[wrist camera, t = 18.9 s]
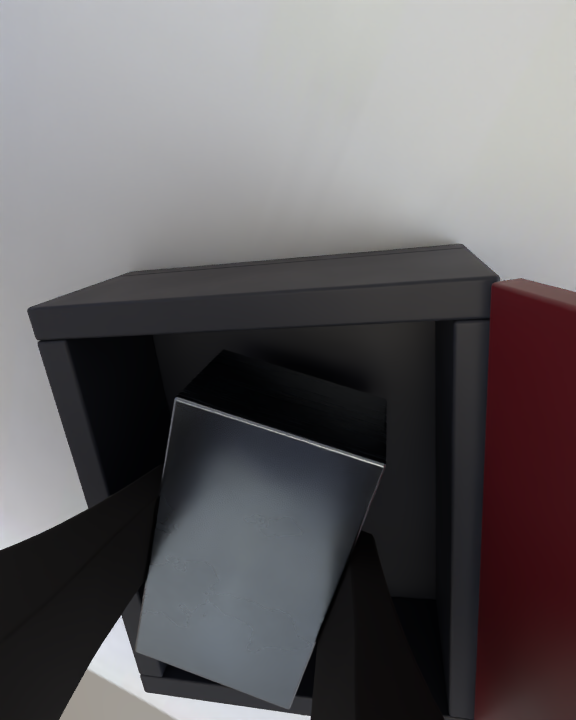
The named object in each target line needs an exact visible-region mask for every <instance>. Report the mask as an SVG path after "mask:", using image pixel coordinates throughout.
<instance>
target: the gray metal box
mask: <svg viewBox="0 0 576 720" xmlns="http://www.w3.org/2000/svg"><path fill="white" fill-rule="evenodd" d="M386 443H387V400H386V399H385V398H381V397H378V396H375V395H372V394H368V393H365V392H362V391H359V390H355V389H352V388H349V387H346V386H342V385H339V384H336V383H333V382H329V381H326V380H323V379H320V378H316V377H313V376H310V375H307V374H303V373H300V372H297V371H294V370H290V369H287V368H284V367H281V366H277V365H274V364H271V363H268V362H264V361H261V360H258V359H255V358H251V357H248V356H245V355H242V354H238V353H235V352H232V351H229V350H225V349H222V350H221V351H220V352H219V353H218V354H217V355H216V356H215V357H214V358H213V359H212V360H211V361H210V362H209V363H208V364H207V366H206V367H205V368H204V369H203V370H202V371H201V372H200V373H199V374H198V375H197V376H196V377H195V378H194V379H193V380H192V381H191V382H190V383H189V384H188V385H187V386H186V387H185V388H184V389H183V390H182V391H181V392H180V393H179V394H178V395H177V396H176V397H175V399H174V405H173V411H172V417H171V424H170V430H169V436H168V443H167V449H166V455H165V462H164V468H163V474H162V481H161V487H160V493H159V500H158V506H157V512H156V519H155V525H154V531H153V537H152V544H151V550H150V556H149V563H148V569H147V575H146V582H145V588H144V594H143V601H142V607H141V613H140V620H139V626H138V632H137V639H136V645H135V651H136V652H138V653H140V654H143V655H145V656H148V657H151V658H153V659H156V660H159V661H161V662H164V663H166V664H169V665H172V666H174V667H177V668H180V669H182V670H185V671H188V672H190V673H193V674H195V675H198V676H201V677H203V678H206V679H209V680H211V681H214V682H217V683H219V684H222V685H224V686H227V687H230V688H232V689H235V690H238V691H240V692H243V693H246V694H248V695H251V696H253V697H256V698H259V699H261V700H264V701H267V702H269V703H272V704H275V705H277V706H280V707H282V708H285V709H290V707H291V705H292V702H293V700H294V697H295V695H296V692H297V690H298V687H299V685H300V682H301V680H302V677H303V675H304V672H305V670H306V667H307V665H308V662H309V660H310V657H311V655H312V652H313V650H314V647H315V645H316V642H317V640H318V637H319V635H320V632H321V630H322V627H323V625H324V622H325V620H326V617H327V615H328V612H329V610H330V607H331V605H332V602H333V600H334V597H335V595H336V592H337V590H338V587H339V585H340V582H341V580H342V577H343V574H344V572H345V569H346V567H347V564H348V562H349V559H350V557H351V554H352V552H353V549H354V547H355V544H356V542H357V539H358V537H359V534H360V532H361V529H362V527H363V524H364V522H365V519H366V517H367V514H368V512H369V509H370V507H371V504H372V502H373V499H374V497H375V494H376V492H377V489H378V487H379V484H380V482H381V479H382V477H383V474H384V472H385V469H386Z"/></svg>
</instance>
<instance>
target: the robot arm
mask: <svg viewBox="0 0 576 720" xmlns="http://www.w3.org/2000/svg"><path fill="white" fill-rule="evenodd" d="M163 468H164V464H161V465H159V466H157V467H155V468H154V469H152V470H151V471H149V472H148V473H146V474H145V475H143V476H142V477H140V478H139V479H137V480H135V481H134V482H132V483H131V484H129V485H128V486H126V487H124V488H123V489H121V490H120V491H118V492H116V493H115V494H113V495H111V496H110V497H108V498H106V499H104V500H103V501H101V502H99V503H98V504H96V505H94V506H93V507H91V508H89V509H87V510H85V511H83V512H81V513H80V514H78V515H76V516H74V517H72V518H70V519H68V520H66V521H65V522H63V523H61V524H59V525H57V526H55V527H53V528H51V529H49V530H46V531H44V532H42V533H40V534H38V535H36V536H33V537H31V538H29V539H27V540H24V541H22V542H20V543H17V544H15V545H13V546H10V547H7V548H5V549H2V550H0V720H59V719H60V717H61V715H62V713H63V711H64V709H65V708H66V706H67V704H68V702H69V700H70V698H71V697H72V695H73V693H74V691H75V689H76V688H77V686H78V684H79V682H80V680H81V678H82V677H83V675H84V673H85V671H86V670H87V668H88V666H89V664H90V662H91V661H92V659H93V657H94V656H95V654H96V652H97V651H98V649H99V648H100V646H101V644H102V643H103V641H104V640H105V638H106V637H107V635H108V634H109V632H110V631H111V629H112V628H113V626H114V625H115V623H116V622H117V620H118V619H119V617H120V616H121V615H122V613H123V612H124V610H125V609H126V607H127V606H128V604H129V603H130V601H131V600H132V598H133V597H134V595H135V594H136V592H137V591H138V589H139V588H140V586H141V585H142V583H143V582H144V580H145V579H146V575H147V569H148V563H149V556H150V550H151V544H152V537H153V531H154V525H155V519H156V512H157V506H158V500H159V493H160V487H161V481H162V474H163ZM311 720H445V719H444V717H443V716H442V714H441V712H440V710H439V708H438V706H437V704H436V702H435V700H434V698H433V696H432V694H431V692H430V690H429V688H428V686H427V684H426V682H425V680H424V678H423V676H422V673H421V671H420V669H419V667H418V665H417V662H416V660H415V658H414V656H413V653H412V651H411V648H410V646H409V643H408V641H407V639H406V636H405V634H404V631H403V629H402V626H401V623H400V621H399V618H398V615H397V612H396V609H395V607H394V604H393V601H392V598H391V595H390V592H389V589H388V586H387V583H386V580H385V576H384V573H383V569H382V566H381V562H380V559H379V555H378V551H377V547H376V542H375V538H374V537H373V535H372V534H370V533H367V532H364V531H362V530H361V532H360V534H359V537H358V539H357V542H356V544H355V547H354V549H353V552H352V554H351V557H350V559H349V562H348V564H347V567H346V569H345V572H344V574H343V577H342V580H341V582H340V585H339V587H338V590H337V592H336V595H335V597H334V600H333V602H332V605H331V607H330V610H329V612H328V615H327V617H326V620H325V622H324V625H323V627H322V630H321V632H320V635H319V637H318V643H317V653H316V665H315V676H314V687H313V698H312V709H311Z"/></svg>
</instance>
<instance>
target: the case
mask: <svg viewBox="0 0 576 720" xmlns="http://www.w3.org/2000/svg"><path fill="white" fill-rule="evenodd" d="M499 281H500V277H499V276H498V275H497V274H496V273H495V272H494V271H492V270H491V269H490V268H489V267H488V266H487V265H486V264H484V263H483V262H482V261H481V260H480V259H479V258H477V257H476V256H475V255H474V254H473V253H472V252H471V251H469V250H468V249H467V248H466V247H465V246H464V245H463V244H456V245H444V246H432V247H420V248H408V249H396V250H384V251H373V252H361V253H349V254H337V255H325V256H313V257H301V258H290V259H278V260H266V261H254V262H242V263H230V264H219V265H207V266H195V267H183V268H171V269H159V270H147V271H136V272H129V273H126V274H123V275H120V276H118V277H115V278H112V279H109V280H106V281H103V282H100V283H98V284H95V285H92V286H89V287H86V288H83V289H81V290H78V291H75V292H72V293H69V294H66V295H63V296H61V297H58V298H55V299H52V300H49V301H46V302H44V303H41V304H38V305H35V306H32V307H30V308H28V311H27V312H28V315H29V318H30V321H31V324H32V328H33V331H34V334H35V337H36V339H37V340H41V341H39V342H38V347H39V350H40V354H41V357H42V360H43V363H44V367H45V370H46V373H47V376H48V379H49V383H50V386H51V389H52V392H53V396H54V399H55V402H56V405H57V409H58V412H59V415H60V418H61V421H62V425H63V428H64V431H65V434H66V438H67V441H68V444H69V447H70V450H71V454H72V457H73V460H74V463H75V467H76V470H77V473H78V476H79V479H80V483H81V486H82V489H83V492H84V496H85V499H86V502H87V505H88V509H89V508H91V507H93V506H94V505H96V504H98V503H99V502H101V501H103V500H104V499H106V498H108V497H110V496H111V495H113V494H115V493H116V492H118V491H120V490H121V489H123V488H124V487H126V486H128V485H129V484H131V483H132V482H134V481H135V480H137V479H139V478H140V477H142V476H143V475H145V474H146V473H148V472H149V471H151V470H152V469H154V468H155V467H157V466H159V465H161V464H164V462H165V455H166V449H167V443H168V436H169V430H170V424H171V417H172V411H173V405H174V399H175V397H176V396H177V395H178V394H179V393H180V392H181V391H182V390H183V389H184V388H185V387H186V386H187V385H188V384H189V383H190V382H191V381H192V380H193V379H194V378H195V377H196V376H197V375H198V374H199V373H200V372H201V371H202V370H203V369H204V368H205V367H206V366H207V364H208V363H209V362H210V361H211V360H212V359H213V358H214V357H215V356H216V355H217V354H218V353H219V352H220V351H221V350H222V349H225V350H229V351H232V352H235V353H238V354H242V355H245V356H248V357H251V358H255V359H258V360H261V361H264V362H268V363H271V364H274V365H277V366H281V367H284V368H287V369H290V370H294V371H297V372H300V373H303V374H307V375H310V376H313V377H316V378H320V379H323V380H326V381H329V382H333V383H336V384H339V385H342V386H346V387H349V388H352V389H355V390H359V391H362V392H365V393H368V394H372V395H375V396H378V397H381V398H385V399H386V400H387V443H386V469H385V472H384V474H383V477H382V479H381V482H380V484H379V487H378V489H377V492H376V494H375V497H374V499H373V502H372V504H371V507H370V509H369V512H368V514H367V517H366V519H365V522H364V524H363V527H362V529H361V530H362V531H364V532H367V533H370V534H372V535H373V537H374V538H375V542H376V547H377V551H378V555H379V559H380V562H381V566H382V569H383V573H384V576H385V580H386V583H387V586H388V589H389V592H390V595H391V598H392V601H393V604H394V607H395V609H396V612H397V615H398V618H399V621H400V623H401V626H402V629H403V631H404V634H405V636H406V639H407V641H408V643H409V646H410V648H411V651H412V653H413V656H414V658H415V660H416V662H417V665H418V667H419V669H420V671H421V673H422V676H423V678H424V680H425V682H426V684H427V686H428V688H429V690H430V692H431V694H432V696H433V698H434V700H435V702H436V704H437V706H438V708H439V710H440V712H441V714H442V716H443V717H444V719H445V720H474V710H475V685H476V660H477V635H478V610H479V584H480V559H481V534H482V509H483V483H484V458H485V433H486V408H487V382H488V357H489V332H490V307H491V286H492V284H493V283H495V282H499ZM145 582H146V579H145V580H144V582H143V583H142V585H141V586H140V588H139V589H138V591H137V592H136V594H135V595H134V597H133V598H132V600H131V601H130V603H129V604H128V606H127V607H126V609H125V610H124V612H123V613H122V618H123V621H124V625H125V628H126V631H127V634H128V638H129V641H130V644H131V647H132V650H133V654H134V657H135V660H136V663H137V667H138V670H139V673H140V674H141V675H140V677H141V680H142V683H143V687H144V690H145V692H148V693H155V694H162V695H169V696H176V697H183V698H190V699H197V700H203V701H210V702H217V703H224V704H231V705H238V706H245V707H252V708H259V709H266V710H273V711H280V712H287V713H294V714H300V715H307V716H311V709H312V698H313V687H314V676H315V665H316V653H317V643H318V640H317V642H316V645H315V647H314V650H313V652H312V655H311V657H310V660H309V662H308V665H307V667H306V670H305V672H304V675H303V677H302V680H301V682H300V685H299V687H298V690H297V692H296V695H295V697H294V700H293V702H292V705H291V707H290V709H285V708H282V707H280V706H277V705H275V704H272V703H269V702H267V701H264V700H261V699H259V698H256V697H253V696H251V695H248V694H246V693H243V692H240V691H238V690H235V689H232V688H230V687H227V686H224V685H222V684H219V683H217V682H214V681H211V680H209V679H206V678H203V677H201V676H198V675H195V674H193V673H190V672H188V671H185V670H182V669H180V668H177V667H174V666H172V665H169V664H166V663H164V662H161V661H159V660H156V659H153V658H151V657H148V656H145V655H143V654H140V653H138V652H136V651H135V645H136V639H137V632H138V626H139V620H140V613H141V607H142V601H143V594H144V588H145Z"/></svg>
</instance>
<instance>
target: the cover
mask: <svg viewBox="0 0 576 720" xmlns="http://www.w3.org/2000/svg"><path fill="white" fill-rule="evenodd" d="M474 720H576V292H573V291H569V290H565V289H561V288H557V287H553V286H549V285H545V284H541V283H537V282H534V281H530V280H526V279H522V278H520V279H513V280H506V281H499V282H495V283H493V284H492V286H491V307H490V332H489V357H488V382H487V408H486V433H485V458H484V483H483V509H482V534H481V559H480V584H479V610H478V635H477V660H476V685H475V710H474Z"/></svg>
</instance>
